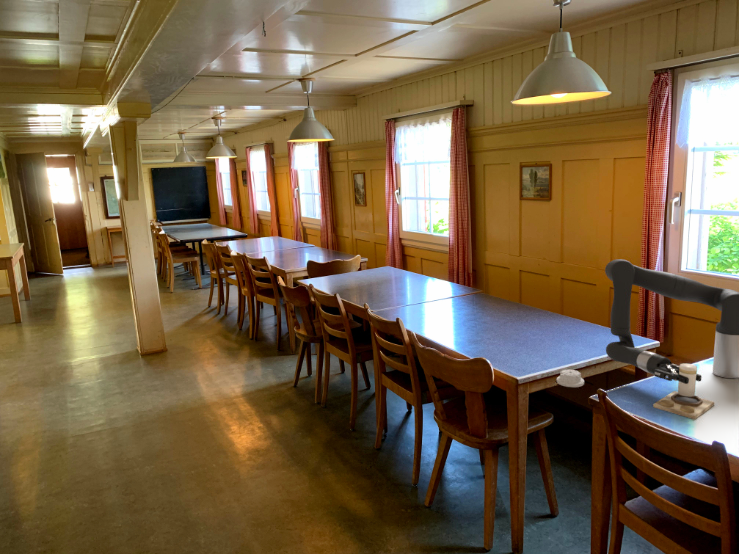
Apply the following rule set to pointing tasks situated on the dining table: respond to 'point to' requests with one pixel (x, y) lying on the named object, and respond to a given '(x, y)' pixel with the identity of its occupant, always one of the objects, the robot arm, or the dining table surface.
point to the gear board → (684, 405)
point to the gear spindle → (689, 372)
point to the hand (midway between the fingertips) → (694, 379)
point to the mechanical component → (570, 378)
